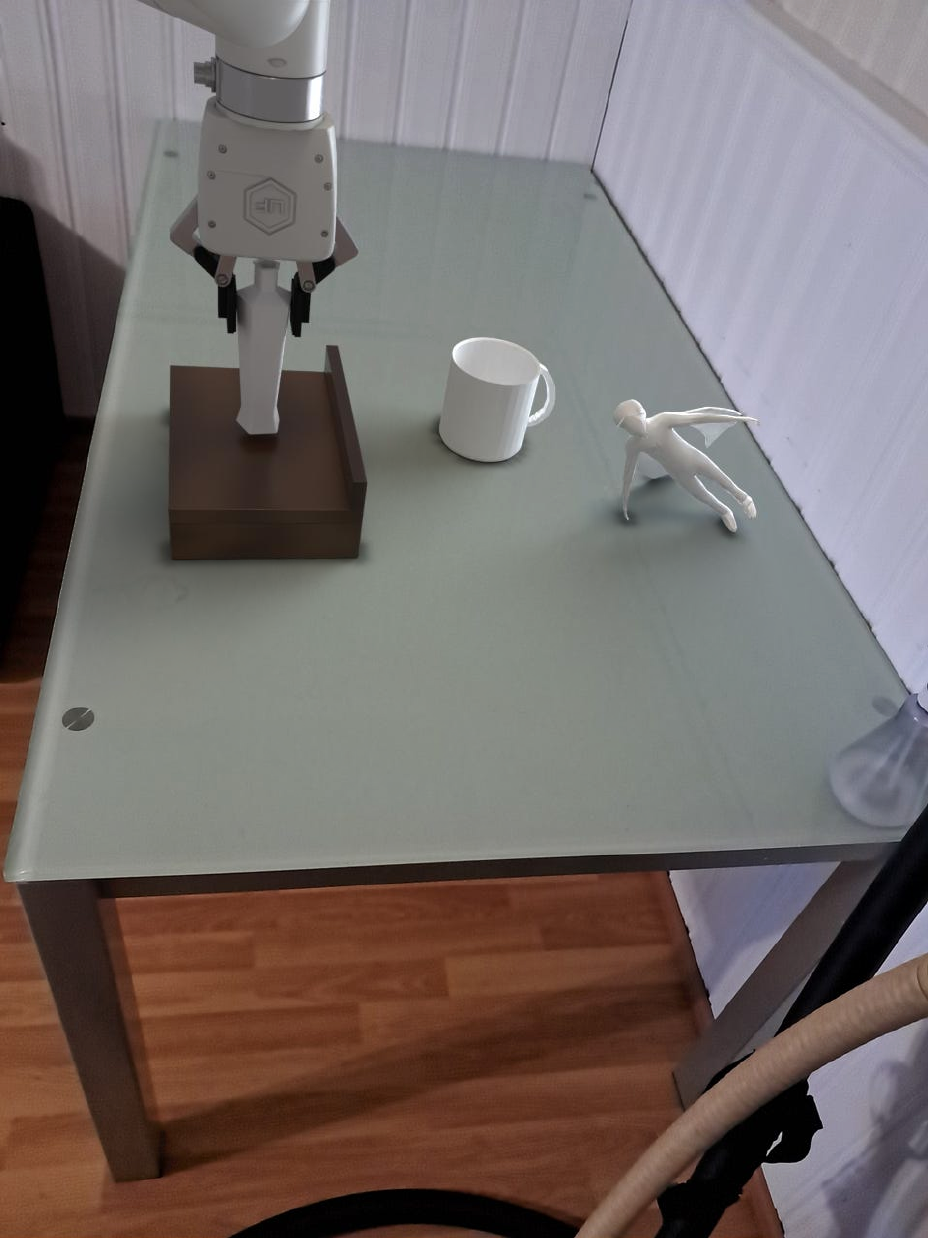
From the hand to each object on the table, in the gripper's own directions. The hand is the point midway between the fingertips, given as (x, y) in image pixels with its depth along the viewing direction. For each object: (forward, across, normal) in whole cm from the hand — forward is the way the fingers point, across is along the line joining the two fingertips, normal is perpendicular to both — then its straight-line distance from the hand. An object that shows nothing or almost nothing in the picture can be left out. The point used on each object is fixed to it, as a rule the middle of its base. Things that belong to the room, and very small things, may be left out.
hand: (263, 325), depth 80 cm
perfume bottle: (+10, 0, 0) cm, 10 cm away
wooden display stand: (+16, 0, 0) cm, 16 cm away
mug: (+16, +25, +8) cm, 31 cm away
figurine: (+16, +40, -3) cm, 43 cm away
